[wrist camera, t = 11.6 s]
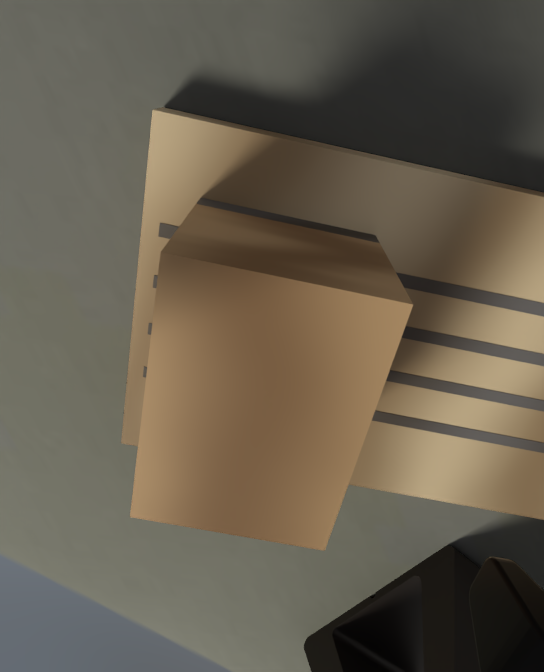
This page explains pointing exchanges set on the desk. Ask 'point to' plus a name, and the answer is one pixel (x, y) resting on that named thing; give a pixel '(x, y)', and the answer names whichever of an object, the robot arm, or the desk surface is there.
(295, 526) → the block
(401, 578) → the phone stand
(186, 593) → the desk surface
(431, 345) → the pine board
